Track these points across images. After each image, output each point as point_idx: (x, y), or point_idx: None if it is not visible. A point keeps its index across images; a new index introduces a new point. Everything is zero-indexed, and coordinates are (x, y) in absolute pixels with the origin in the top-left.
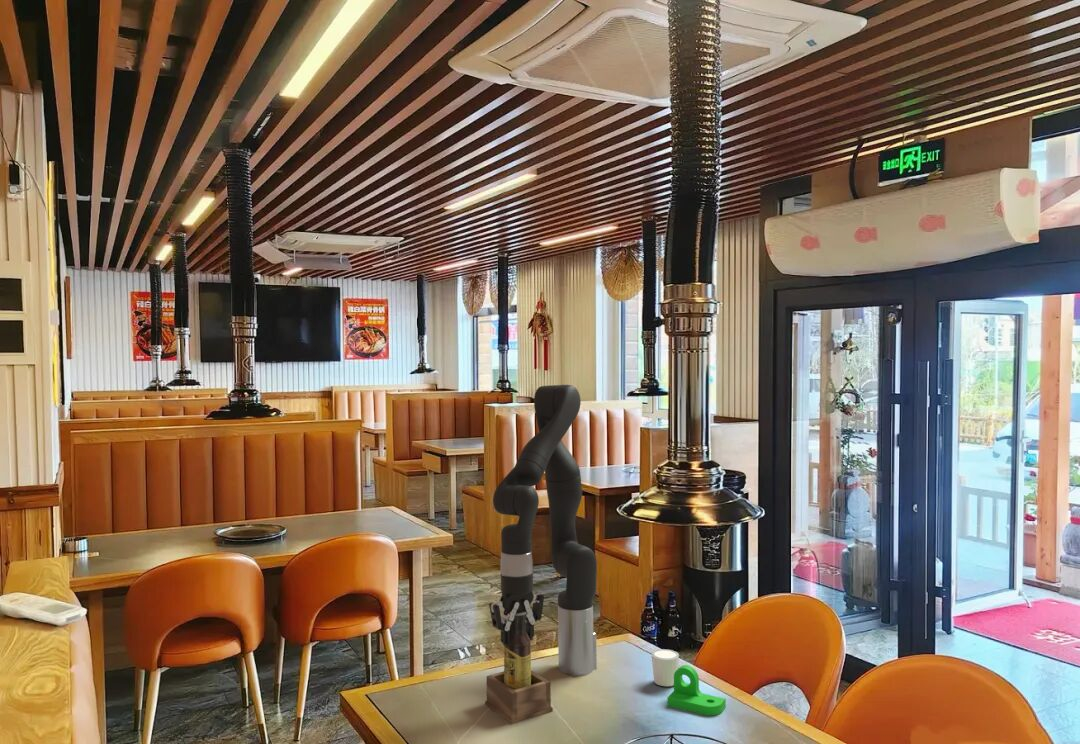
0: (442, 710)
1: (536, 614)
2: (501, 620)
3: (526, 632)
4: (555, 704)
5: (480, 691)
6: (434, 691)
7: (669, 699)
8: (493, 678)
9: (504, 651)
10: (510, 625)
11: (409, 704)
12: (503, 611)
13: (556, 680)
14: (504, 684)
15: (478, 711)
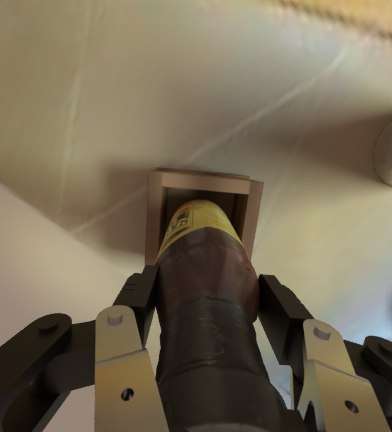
0: (79, 127)
1: (385, 406)
2: (96, 352)
3: (267, 299)
4: (257, 247)
5: (187, 105)
6: (105, 27)
7: None
8: (155, 194)
9: (159, 252)
10: (159, 356)
11: (30, 49)
12: (95, 422)
13: (334, 172)
14: (157, 239)
15: (135, 179)
